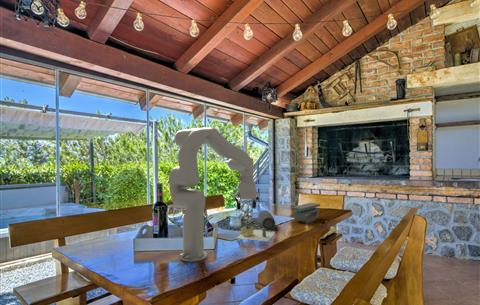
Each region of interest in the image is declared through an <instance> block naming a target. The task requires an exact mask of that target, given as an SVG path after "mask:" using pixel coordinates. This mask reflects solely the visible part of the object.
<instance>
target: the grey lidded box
mask: <svg viewBox="0 0 480 305" xmlns="http://www.w3.org/2000/svg"><path fill="white" fill-rule="evenodd" d="M318 207H321V203H316V202H315V203H314V202H308V203H304V204H300V205H296V206H291V210H293V211H292V216H293V217H294V219H295V220H296V221H297V222H300V223H304V224H308V223H311V222H314V221H316V220H317V218H318V216H319V213H320V208H318Z"/></svg>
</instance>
